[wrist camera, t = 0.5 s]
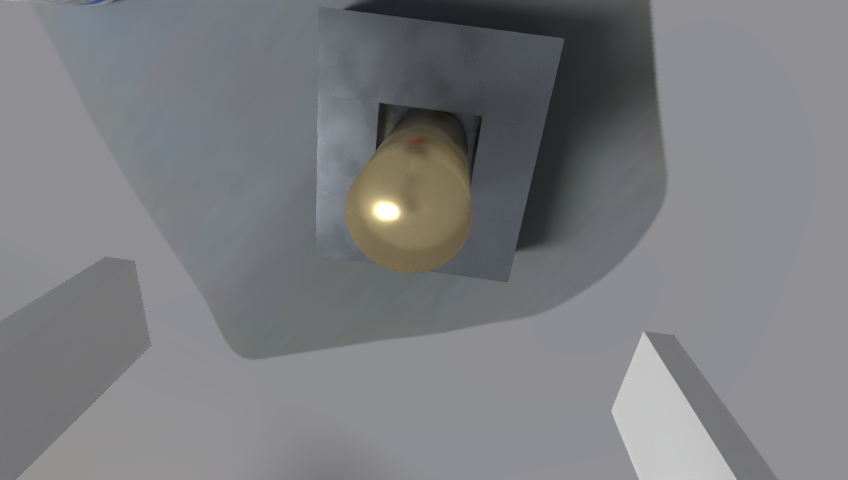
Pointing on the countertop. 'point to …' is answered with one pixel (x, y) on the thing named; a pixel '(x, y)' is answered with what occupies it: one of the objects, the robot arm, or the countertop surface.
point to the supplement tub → (71, 2)
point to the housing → (437, 90)
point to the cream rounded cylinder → (413, 195)
